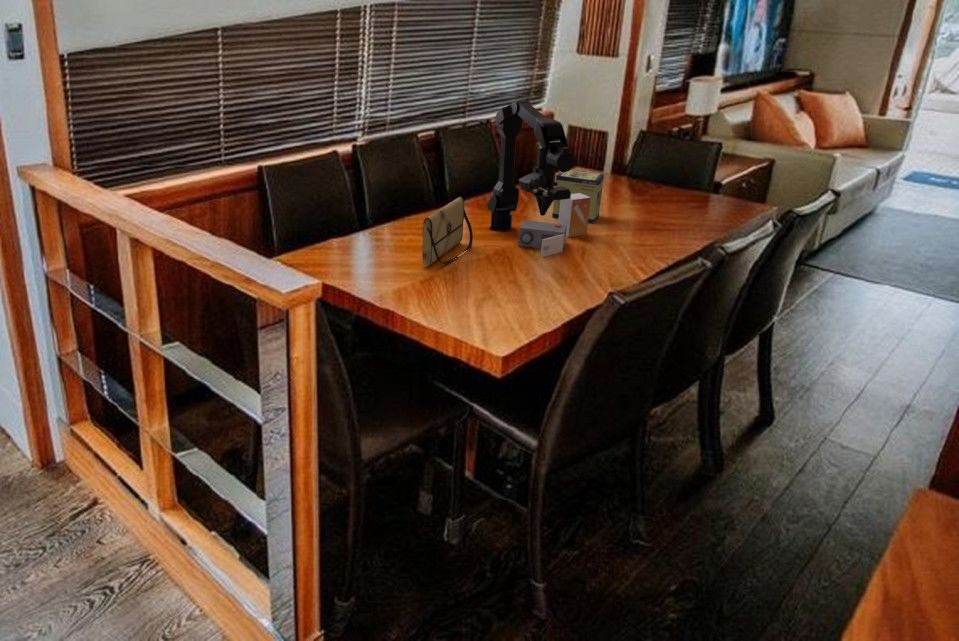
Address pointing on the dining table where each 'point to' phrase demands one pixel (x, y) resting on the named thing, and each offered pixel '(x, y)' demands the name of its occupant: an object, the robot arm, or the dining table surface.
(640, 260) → the dining table surface
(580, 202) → the small box
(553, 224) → the camera block
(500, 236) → the dining table surface
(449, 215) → the clutch purse
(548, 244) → the side door
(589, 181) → the protein box
